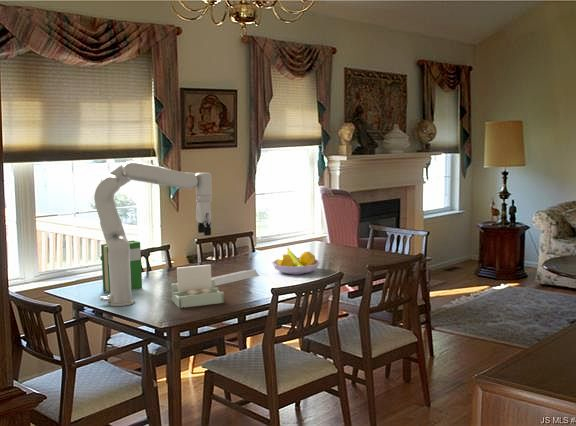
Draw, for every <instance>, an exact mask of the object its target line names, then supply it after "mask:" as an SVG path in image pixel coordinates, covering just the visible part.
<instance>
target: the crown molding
mask: <svg viewBox="0 0 576 426" xmlns="http://www.w3.org/2000/svg"><path fill="white" fill-rule="evenodd" d="M259 276H260V274H259V273H258V272H257V270H256V269H251V270H250V269H249V270H247V269H244V270H241V271H235V272H230V273H227V274H222V275H217V276H211V280H213V279H214V280H215V287H216V286H222V285H225V284H229V283H234V282H238V281H242V280H246V279H250V278H251V279H252V278H255V277H259Z"/></svg>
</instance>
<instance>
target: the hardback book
mask: <svg viewBox="0 0 576 426" xmlns="http://www.w3.org/2000/svg"><path fill="white" fill-rule="evenodd" d="M128 242H129V245H130V271H131V291H136V290H140V289H141V290H142V289H143V281H142V279H143V277H142V256H141V254H142V253H141V251H142V250H141V242H140V241H138V240H128ZM100 250H101V251H100V252H101V270H102V271H101V272H102V290H103V291H106V292H108V294H109V293H110V273H109V252H108V246H107V243H103V244H100Z"/></svg>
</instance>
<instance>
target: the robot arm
mask: <svg viewBox="0 0 576 426" xmlns="http://www.w3.org/2000/svg"><path fill="white" fill-rule="evenodd" d="M130 181H136V182H142V183H147V184H154V185H158V186H168V187H173V188H178V189H184V190H192V189H193V190H194V189H195V202H196V207H195V210H196V211H195V220H196V222H197V232H198V234H202V233H204V234H203V235H204V236H206V237H207V236H211V235H212V207H211V206H212V205H211V203H212V202H213V193H212V191H213V189H212V187H213V186H212V183H213V182H212V181H213V180H212V173H210V172H189V171H188V172H187V171H186V172H184V171H179V170H175V169H174V170H173V169H170V168H166V167H164V166H159V165H154V164H148V163H143V162H138V161H133V160H128V161H126V162H124V163H123V164H121V165H119V166H118V167H116V168H114V169H112V170H111V171H110V172H108V173H107V174H105V175H103V177H102V178H101V181H100V182H99V183H98V185H97V187H96V188H95V191H94V196H93V197H94V204H95V208H96V211H97V214H98V219H99V224H100V228H101V231H102V234H103V237H104V239H105V240H104V241H105V244H107V246H108V252H109V273H110V293H109V292H108V295H106V296H104V295H103V296H99V299H100V301H103V302H107V305H108V306H110V305H111V307H125V306H126V305H127V306H130V305H133V304H135V303H136V299H135V298H133V297H132V295H133V293H132V290H131V271H130V245H129V242H128V241H129V240H128V239H127V236H126V233H125V230H124V226H123V223H122V222H123V221H122V219H121V217H120V216H119V213H118V210H117V206H116V203H115V195H116V193H117V192H118V191H119V190H120V188H121V187H123V186H124V185H126V184H128V183H130Z"/></svg>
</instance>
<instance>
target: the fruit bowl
mask: <svg viewBox="0 0 576 426" xmlns="http://www.w3.org/2000/svg"><path fill="white" fill-rule="evenodd" d="M286 249H287V253H286V254H284V253H283V254H282V255H281V256H279V257H278V258H277V259H275V260H274V261H271V264H272V265H273V268H274V269H275V270H277V271H278V272H281V273H283V274H287V275H295V276H298V274H299V275H305V274H309V273H311V272H313V271H315V270H317V269H318V267H319V266H320V263H321V261H320V260H318V259H316V256H315V255H314V254H313V253H312V252H310V251H304V252H303V253H301V255H300V256H299V257H297V256H296V255H295V254H294V253H293V252H292V251H291V250H290V248H289V247H288V248H286ZM304 273H305V274H304Z"/></svg>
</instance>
